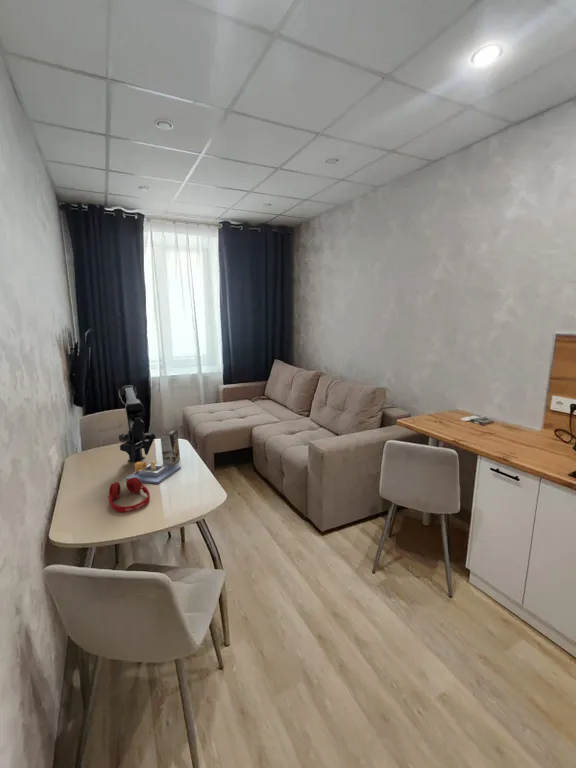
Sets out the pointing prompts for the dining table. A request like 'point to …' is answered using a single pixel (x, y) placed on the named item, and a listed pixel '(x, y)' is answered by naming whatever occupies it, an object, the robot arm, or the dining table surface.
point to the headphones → (133, 487)
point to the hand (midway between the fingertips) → (140, 458)
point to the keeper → (152, 478)
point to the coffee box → (170, 447)
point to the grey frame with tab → (144, 468)
